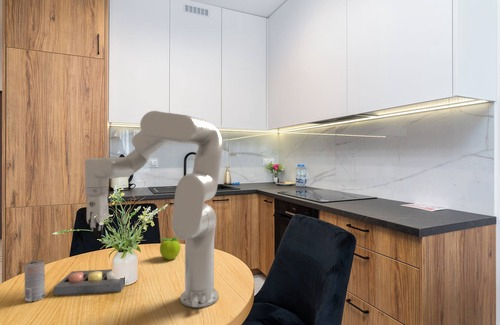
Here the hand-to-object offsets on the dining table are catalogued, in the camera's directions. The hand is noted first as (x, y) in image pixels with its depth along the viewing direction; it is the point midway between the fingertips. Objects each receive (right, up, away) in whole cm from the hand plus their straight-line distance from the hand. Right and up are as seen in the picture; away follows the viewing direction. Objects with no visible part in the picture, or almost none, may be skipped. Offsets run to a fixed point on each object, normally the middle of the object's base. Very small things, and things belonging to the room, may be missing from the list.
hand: (97, 240), depth 109 cm
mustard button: (-1, -16, -1) cm, 16 cm away
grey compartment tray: (-1, -16, -1) cm, 16 cm away
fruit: (+19, -16, +28) cm, 37 cm away
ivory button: (+6, -16, 0) cm, 17 cm away
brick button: (-7, -16, -2) cm, 17 cm away
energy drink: (-15, -16, -11) cm, 25 cm away
